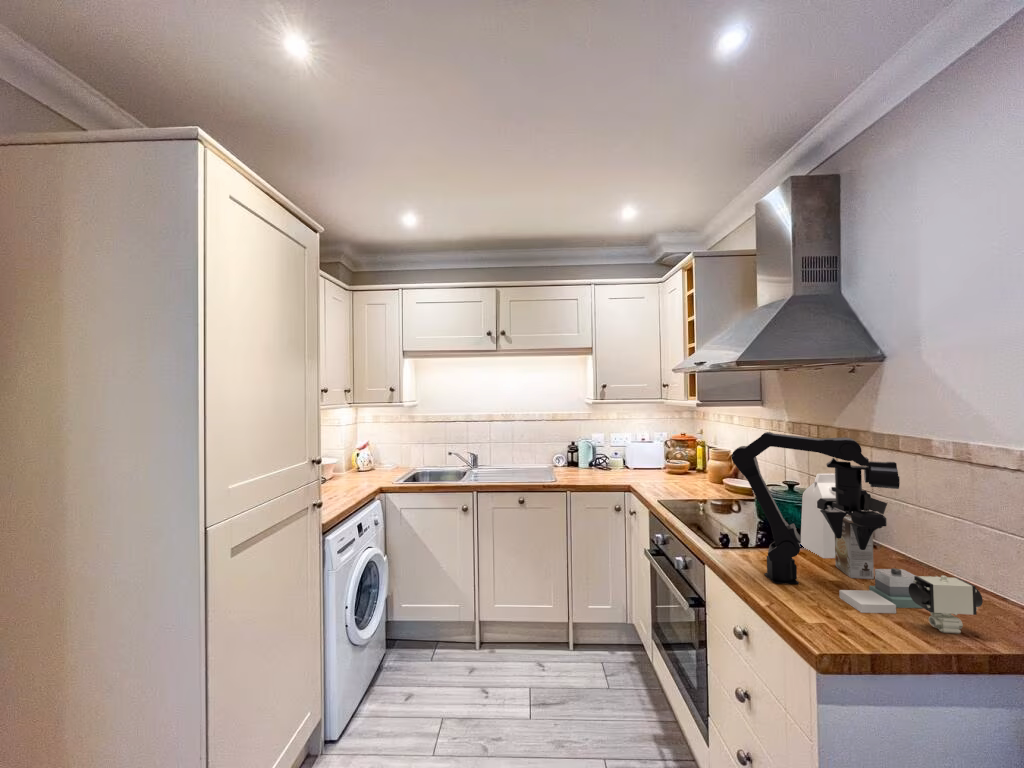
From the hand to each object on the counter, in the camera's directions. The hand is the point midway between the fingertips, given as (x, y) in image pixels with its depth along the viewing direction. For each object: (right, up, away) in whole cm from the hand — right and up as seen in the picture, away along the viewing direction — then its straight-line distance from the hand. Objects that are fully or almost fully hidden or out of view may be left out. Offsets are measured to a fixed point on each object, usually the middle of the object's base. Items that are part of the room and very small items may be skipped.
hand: (850, 543), depth 119 cm
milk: (+16, -14, +31) cm, 37 cm away
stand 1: (-1, -13, -7) cm, 15 cm away
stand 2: (+8, -13, -5) cm, 16 cm away
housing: (+8, -11, -5) cm, 14 cm away
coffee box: (+11, -13, +13) cm, 22 cm away
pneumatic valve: (+7, -13, -19) cm, 24 cm away
